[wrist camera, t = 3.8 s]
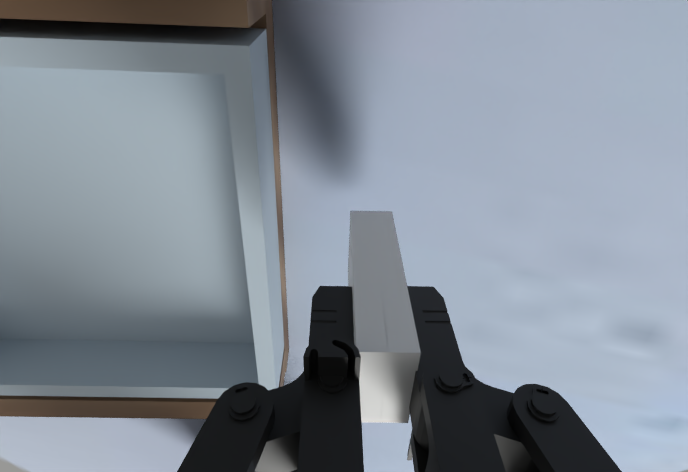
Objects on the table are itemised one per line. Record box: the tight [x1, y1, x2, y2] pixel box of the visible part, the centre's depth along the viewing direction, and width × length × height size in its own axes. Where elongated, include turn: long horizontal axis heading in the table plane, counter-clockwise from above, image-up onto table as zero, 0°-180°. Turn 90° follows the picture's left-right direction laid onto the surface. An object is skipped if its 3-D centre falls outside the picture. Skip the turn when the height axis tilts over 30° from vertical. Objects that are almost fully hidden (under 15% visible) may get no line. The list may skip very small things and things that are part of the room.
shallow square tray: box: [0, 18, 284, 399], centre depth 16 cm, size 14×14×3 cm
